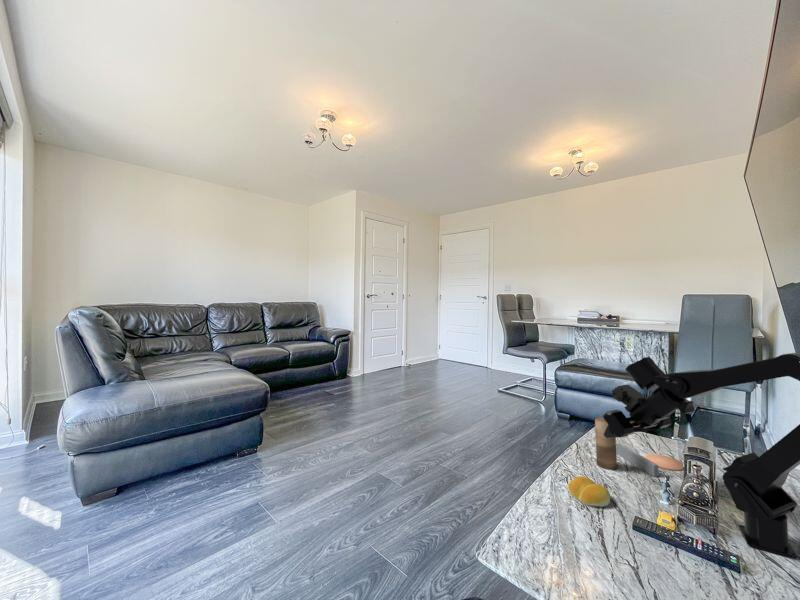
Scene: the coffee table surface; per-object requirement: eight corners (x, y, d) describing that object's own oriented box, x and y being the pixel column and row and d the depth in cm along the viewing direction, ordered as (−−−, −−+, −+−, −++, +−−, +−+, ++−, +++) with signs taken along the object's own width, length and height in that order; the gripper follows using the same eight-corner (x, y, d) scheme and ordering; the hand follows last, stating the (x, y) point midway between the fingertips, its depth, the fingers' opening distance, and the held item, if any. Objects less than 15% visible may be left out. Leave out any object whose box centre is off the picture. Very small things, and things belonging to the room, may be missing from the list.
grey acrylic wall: (658, 476, 89) (658, 465, 89) (654, 476, 89) (653, 465, 89) (620, 453, 103) (619, 443, 103) (616, 453, 103) (616, 443, 103)
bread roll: (594, 512, 75) (594, 494, 75) (562, 492, 84) (562, 476, 84) (619, 503, 78) (619, 486, 78) (586, 484, 86) (585, 469, 86)
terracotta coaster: (687, 473, 90) (687, 472, 90) (646, 465, 95) (646, 464, 95) (682, 460, 97) (681, 458, 97) (644, 453, 102) (644, 452, 102)
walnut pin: (616, 471, 92) (614, 424, 93) (596, 466, 95) (594, 421, 95) (616, 463, 96) (615, 419, 97) (597, 459, 99) (595, 416, 99)
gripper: (657, 374, 91) (620, 403, 101) (608, 381, 85) (574, 411, 95) (692, 411, 83) (648, 438, 94) (641, 422, 77) (599, 450, 87)
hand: (617, 433), depth 93 cm, fingers open, 9 cm apart
